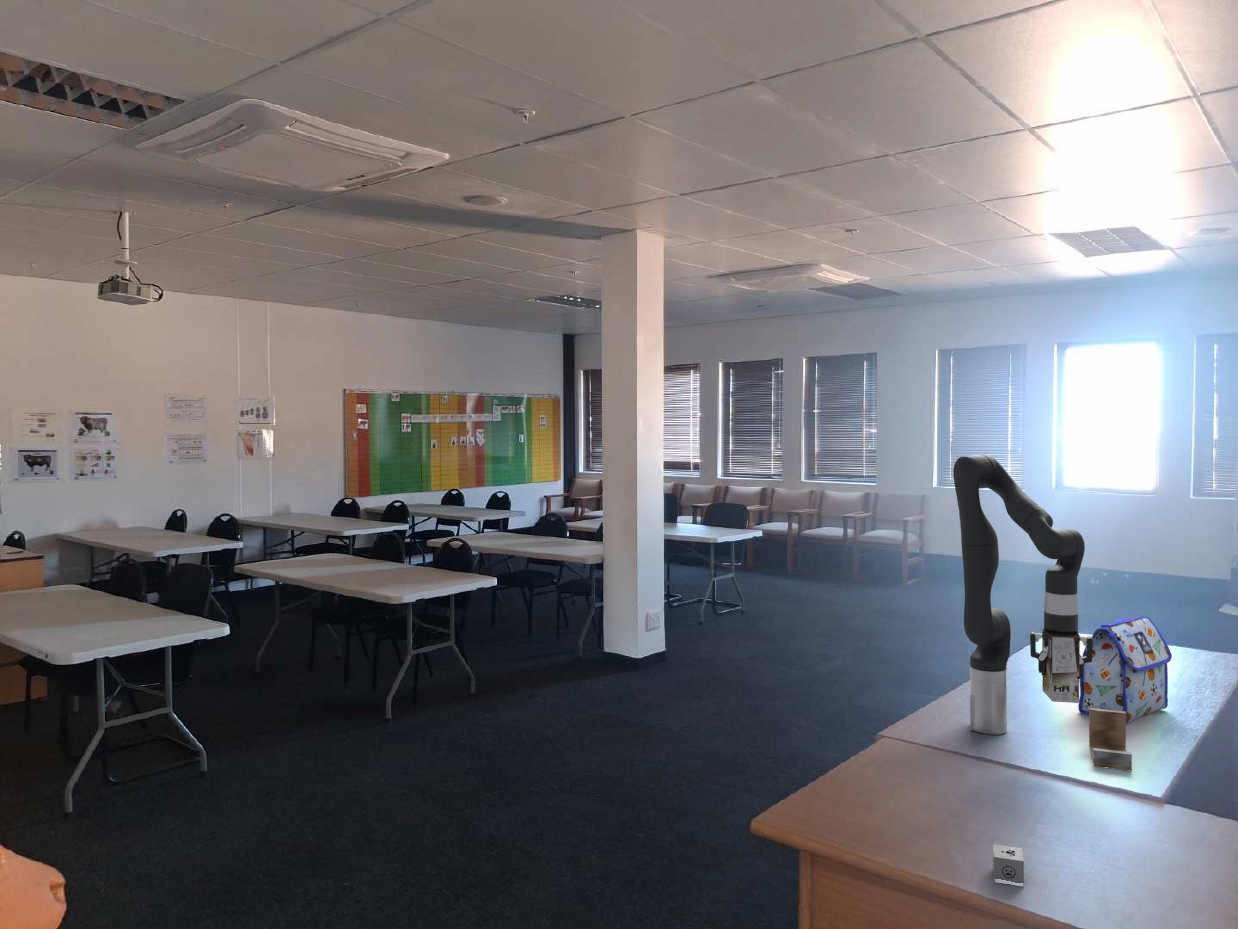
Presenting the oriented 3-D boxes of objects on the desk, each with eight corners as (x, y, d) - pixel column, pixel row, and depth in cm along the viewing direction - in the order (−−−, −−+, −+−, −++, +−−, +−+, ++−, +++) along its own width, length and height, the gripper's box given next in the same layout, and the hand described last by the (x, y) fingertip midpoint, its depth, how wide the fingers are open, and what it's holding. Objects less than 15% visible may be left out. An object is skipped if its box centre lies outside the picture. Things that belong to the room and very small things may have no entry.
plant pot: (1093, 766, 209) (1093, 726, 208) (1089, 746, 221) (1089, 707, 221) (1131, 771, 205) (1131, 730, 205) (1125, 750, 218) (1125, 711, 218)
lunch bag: (1134, 730, 232) (1134, 632, 230) (1074, 713, 246) (1074, 620, 245) (1177, 713, 244) (1177, 619, 242) (1118, 698, 258) (1118, 609, 256)
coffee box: (1080, 703, 207) (1080, 637, 206) (1051, 702, 208) (1051, 636, 207) (1069, 691, 216) (1069, 628, 215) (1041, 690, 217) (1041, 627, 216)
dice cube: (1023, 888, 157) (1023, 861, 156) (994, 883, 159) (993, 857, 158) (1021, 874, 161) (1021, 848, 161) (992, 869, 163) (992, 844, 163)
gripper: (1028, 611, 210) (1028, 677, 211) (1095, 616, 204) (1094, 684, 205) (1028, 605, 217) (1028, 669, 218) (1093, 609, 211) (1092, 675, 212)
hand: (1060, 676), depth 212 cm, fingers closed on coffee box, 7 cm apart
